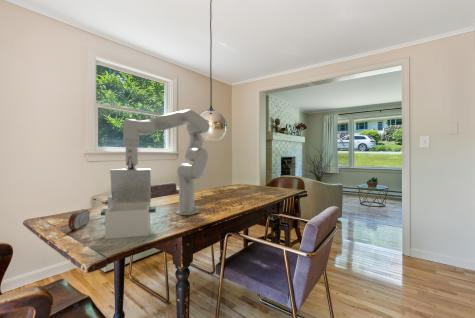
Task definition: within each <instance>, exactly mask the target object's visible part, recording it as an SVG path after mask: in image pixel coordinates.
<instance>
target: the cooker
mask: <svg viewBox="0 0 475 318" xmlns="http://www.w3.org/2000/svg"><path fill="white" fill-rule="evenodd" d="M156 208H157V206H151V202H140V203H119V204H112V205H111V206H110V208H109V209H108V208H104V209H102V211H101V212H100V216H101V217H102V216H104V226H105V227H104V233H105V234H104V238H105V240H111V239H123V238H134V237H144V236H145V237H146V236H149V233H150V226H151V214H152V213H156V212H157V211H156V210H157V209H156Z"/></svg>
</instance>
